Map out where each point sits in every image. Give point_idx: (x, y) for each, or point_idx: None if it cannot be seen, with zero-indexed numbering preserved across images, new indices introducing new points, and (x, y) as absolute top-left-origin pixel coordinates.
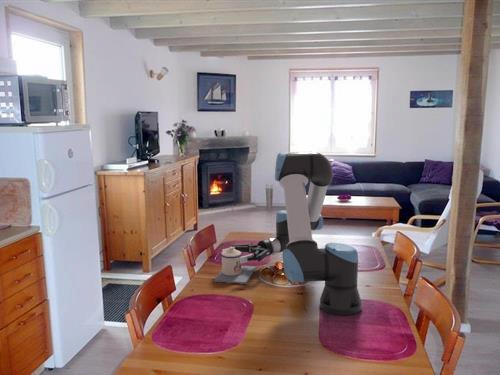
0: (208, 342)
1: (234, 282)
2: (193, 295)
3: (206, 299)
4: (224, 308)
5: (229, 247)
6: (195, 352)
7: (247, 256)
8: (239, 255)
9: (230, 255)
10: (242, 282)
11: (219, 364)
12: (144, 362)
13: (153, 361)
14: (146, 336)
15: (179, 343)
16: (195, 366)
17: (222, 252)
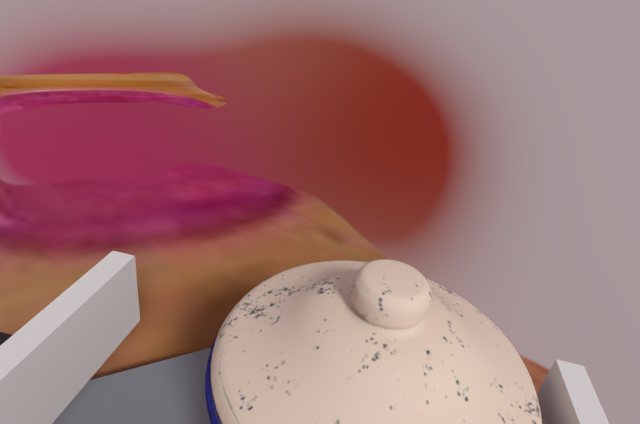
0: (60, 102)
1: (167, 363)
2: (283, 209)
3: (207, 203)
4: (88, 182)
5: (413, 268)
6: (76, 89)
7: (28, 330)
8: (212, 360)
9: (294, 269)
10: (91, 380)
11: (3, 80)
12: (158, 78)
13: (144, 79)
14: (217, 102)
15: (130, 98)
16: (55, 77)
17: (458, 297)
